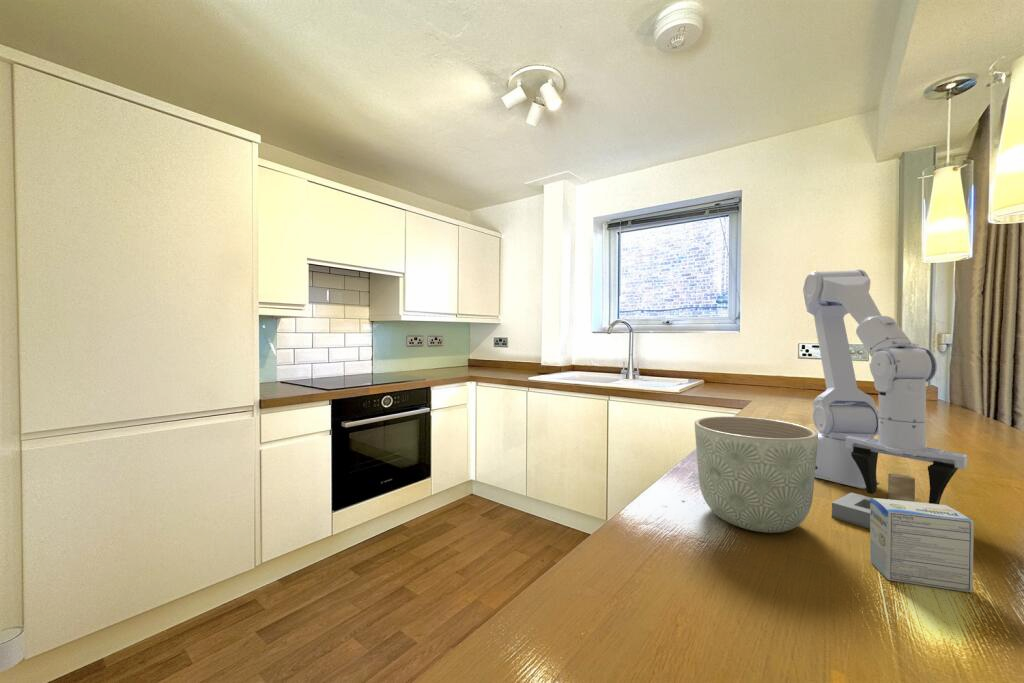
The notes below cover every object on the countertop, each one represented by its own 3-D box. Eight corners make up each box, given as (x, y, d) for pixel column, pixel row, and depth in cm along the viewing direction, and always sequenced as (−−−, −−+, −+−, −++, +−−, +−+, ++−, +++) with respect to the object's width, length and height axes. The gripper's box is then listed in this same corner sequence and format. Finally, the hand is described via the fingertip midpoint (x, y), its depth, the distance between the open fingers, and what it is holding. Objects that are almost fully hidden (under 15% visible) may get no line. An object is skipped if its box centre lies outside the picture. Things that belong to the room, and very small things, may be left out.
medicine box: (947, 573, 50) (947, 504, 50) (974, 595, 45) (975, 519, 45) (868, 562, 52) (868, 496, 52) (888, 581, 48) (888, 510, 48)
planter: (697, 492, 76) (697, 412, 76) (807, 510, 68) (807, 421, 68) (690, 530, 61) (690, 431, 61) (830, 559, 53) (830, 444, 53)
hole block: (831, 517, 65) (831, 502, 65) (850, 506, 69) (851, 492, 69) (907, 540, 58) (907, 524, 58) (923, 526, 62) (923, 511, 62)
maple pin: (885, 511, 67) (885, 475, 67) (891, 506, 69) (891, 472, 69) (911, 518, 65) (911, 481, 65) (917, 513, 66) (917, 477, 66)
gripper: (838, 414, 71) (838, 490, 71) (959, 430, 59) (959, 522, 59) (854, 410, 75) (854, 483, 75) (970, 424, 62) (970, 511, 62)
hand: (901, 500), depth 67 cm, fingers open, 7 cm apart
